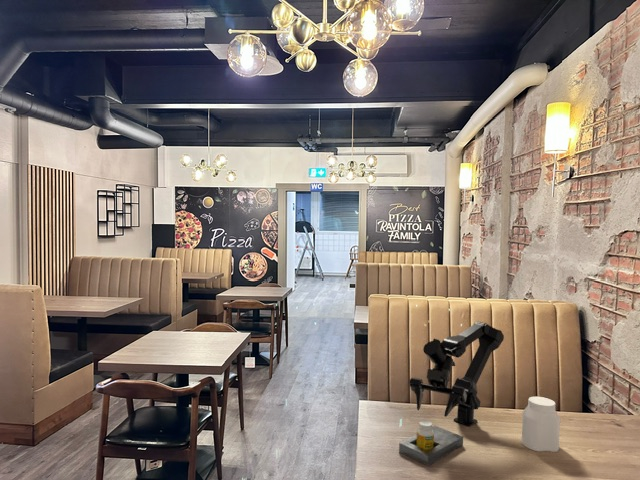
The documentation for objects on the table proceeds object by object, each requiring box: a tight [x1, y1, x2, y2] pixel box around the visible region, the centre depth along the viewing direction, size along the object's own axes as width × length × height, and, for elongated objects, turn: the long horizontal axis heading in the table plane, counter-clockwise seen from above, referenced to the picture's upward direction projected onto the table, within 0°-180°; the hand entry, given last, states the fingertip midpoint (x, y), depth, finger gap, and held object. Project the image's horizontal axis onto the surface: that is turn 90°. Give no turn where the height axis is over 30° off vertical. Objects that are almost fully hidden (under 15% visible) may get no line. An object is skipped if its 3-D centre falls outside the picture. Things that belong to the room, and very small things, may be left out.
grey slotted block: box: [398, 425, 464, 466], centre depth 151 cm, size 20×11×3 cm, turn 132°
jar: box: [520, 396, 561, 453], centre depth 155 cm, size 12×10×15 cm
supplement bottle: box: [416, 420, 434, 451], centre depth 148 cm, size 5×5×10 cm
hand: (431, 412), depth 153 cm, fingers open, 9 cm apart
